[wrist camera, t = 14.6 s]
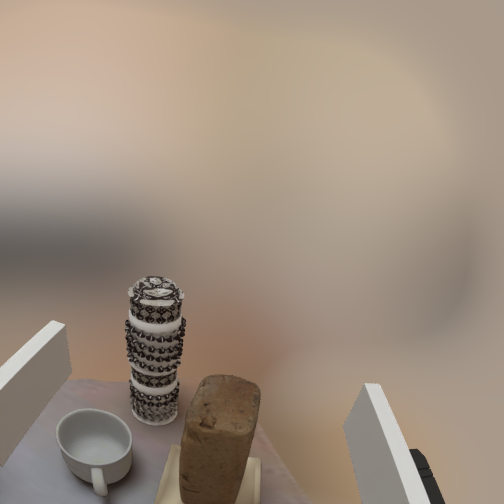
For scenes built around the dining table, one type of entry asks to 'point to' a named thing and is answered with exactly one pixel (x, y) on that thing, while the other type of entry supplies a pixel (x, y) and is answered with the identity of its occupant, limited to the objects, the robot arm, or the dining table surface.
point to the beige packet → (168, 489)
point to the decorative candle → (154, 348)
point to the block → (217, 439)
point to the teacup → (95, 446)
